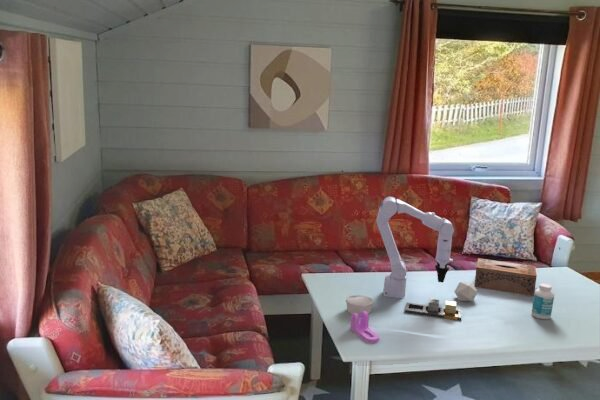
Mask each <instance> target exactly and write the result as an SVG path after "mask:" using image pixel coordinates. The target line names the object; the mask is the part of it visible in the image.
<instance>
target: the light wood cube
mask: <svg viewBox="0 0 600 400" xmlns="http://www.w3.org/2000/svg"><path fill="white" fill-rule="evenodd" d="M444 308H445V314H447V315H454V316H455V312H456V309H457V301H454V300H452V301H451V300H445V307H444Z"/></svg>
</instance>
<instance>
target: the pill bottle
mask: <svg viewBox="0 0 600 400" xmlns="http://www.w3.org/2000/svg"><path fill="white" fill-rule="evenodd" d="M552 288H553V287H552V285H551V284H548V283H543V282H541V283H539V284H538V288H535V292H534V296H533V300H532V305H531V306H532V309H531V315H532V316H533V317H535V318H536V319H539V318H540V320H549V319H551V317H552V312H553V305H554V299H555V293H554V291H552Z"/></svg>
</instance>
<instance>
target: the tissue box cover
mask: <svg viewBox="0 0 600 400" xmlns="http://www.w3.org/2000/svg"><path fill="white" fill-rule="evenodd" d="M537 276H538V275H537V269H536V266H535V265H529V264H523V263H522V264H521V263H515V262H509V261H501V260H500V261H499V260H493V259H486V258H485V259H484V258H479V257H478V258H477V262H476V269H475V277H474V283H473V285H474V287H475V288H479V289H485V290H491V291H497V292H505V293H509V294H510V293H511V294H517V295H523V296H529V297H534V293H535V290H536V285H537V284H536V283H537Z"/></svg>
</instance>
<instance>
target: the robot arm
mask: <svg viewBox="0 0 600 400" xmlns="http://www.w3.org/2000/svg"><path fill="white" fill-rule="evenodd" d="M396 213H397V214H398V215H400V214H404V213H405V214H407V215H409V216H412V217H414V218H416V219H417V220H418V219H419V220H421V222H422V223H421V224H422V225H424V226H426V227H428V228H430V229H432V230H434V231H436V232H438V237H437V247H436V256H435V262H436V264H435V270H436V274H437V282H438V283H444V281H445V279H446V275H447V272H448V271H449V270H450V267H448V265H449V264H450V262H453V258H451V250H452V242H453V239H452V237H453V234H454V233H455V228H454V226H453V224H452V222H451V221H450V220H448V219H446V218H445V217H440V216H438V215H436V212H433V211H432V212H430V211H428V212H423V211H422V210H420V209H418V208H416V207H415V206H412V205H410V204H408V203H407V202H405V201H403V200H402V199H399V198H396V197H394V196H386V197H385V198H384V199H383V200H382V201H381V202H380V205H379V209H378V212H377V216H376V218H375V219H376V226H377V228H378V230H379V233H380V236H381V239H382V242H383V244H384V247H385V251H386V252H387V256H388V259H389V264H390V266H391V272H390V274H389V275H385V276H384V281H383V282H384V283H383V291H382V292H383V295H382V296H384V297H391V298H394V299H403V298H405V297H406V291H407V290H406V289H407V278H408V277H407V269H406V268H407V266H406V261H404V260H403V259H402V257H401V255H400V252H399V250H398V246H397V244H396V242H395V241H396V240H395V238H394V236H393V232H392V229H391V227H390V225H389V221H390V219H391V217H393V216H394V215H395V214H396Z"/></svg>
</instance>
